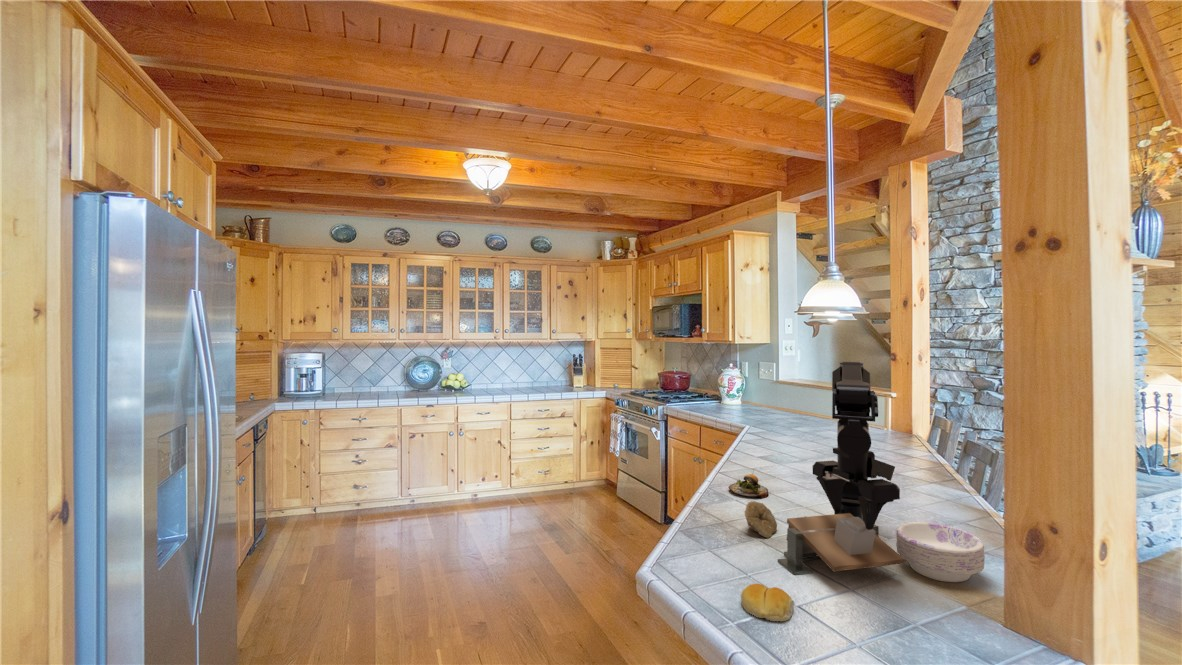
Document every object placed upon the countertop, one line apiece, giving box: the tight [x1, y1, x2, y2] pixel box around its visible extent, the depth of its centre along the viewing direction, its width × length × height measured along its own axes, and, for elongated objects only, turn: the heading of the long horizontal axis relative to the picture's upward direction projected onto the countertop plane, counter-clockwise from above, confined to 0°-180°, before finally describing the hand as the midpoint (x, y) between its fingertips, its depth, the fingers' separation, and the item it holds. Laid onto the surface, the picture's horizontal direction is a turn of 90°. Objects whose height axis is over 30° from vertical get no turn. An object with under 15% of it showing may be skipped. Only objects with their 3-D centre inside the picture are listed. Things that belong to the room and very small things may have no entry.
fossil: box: [744, 500, 778, 539], centre depth 128 cm, size 9×4×10 cm
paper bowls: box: [895, 521, 986, 583], centre depth 106 cm, size 15×15×8 cm
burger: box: [728, 469, 770, 500], centre depth 157 cm, size 12×12×8 cm
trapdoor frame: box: [777, 523, 879, 576], centre depth 111 cm, size 23×8×8 cm, turn 102°
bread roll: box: [740, 583, 795, 623], centre depth 92 cm, size 8×9×4 cm
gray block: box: [834, 517, 876, 555], centre depth 103 cm, size 5×5×6 cm
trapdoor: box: [786, 513, 905, 572], centre depth 107 cm, size 16×16×6 cm
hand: (852, 520), depth 104 cm, fingers open, 9 cm apart
